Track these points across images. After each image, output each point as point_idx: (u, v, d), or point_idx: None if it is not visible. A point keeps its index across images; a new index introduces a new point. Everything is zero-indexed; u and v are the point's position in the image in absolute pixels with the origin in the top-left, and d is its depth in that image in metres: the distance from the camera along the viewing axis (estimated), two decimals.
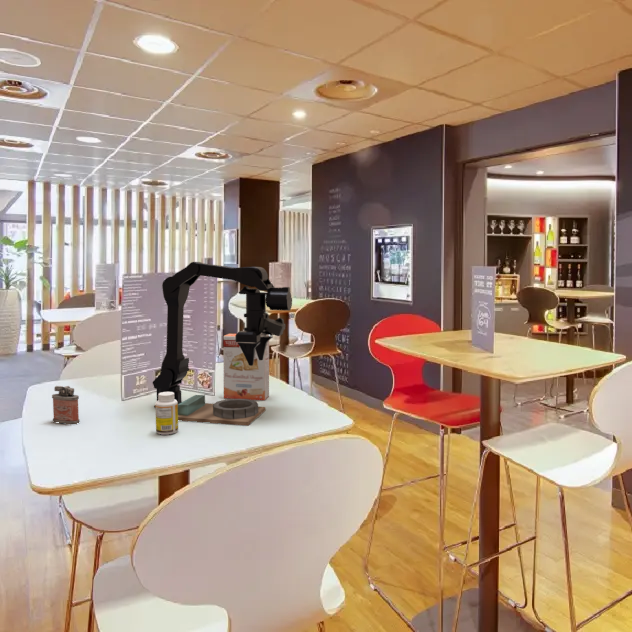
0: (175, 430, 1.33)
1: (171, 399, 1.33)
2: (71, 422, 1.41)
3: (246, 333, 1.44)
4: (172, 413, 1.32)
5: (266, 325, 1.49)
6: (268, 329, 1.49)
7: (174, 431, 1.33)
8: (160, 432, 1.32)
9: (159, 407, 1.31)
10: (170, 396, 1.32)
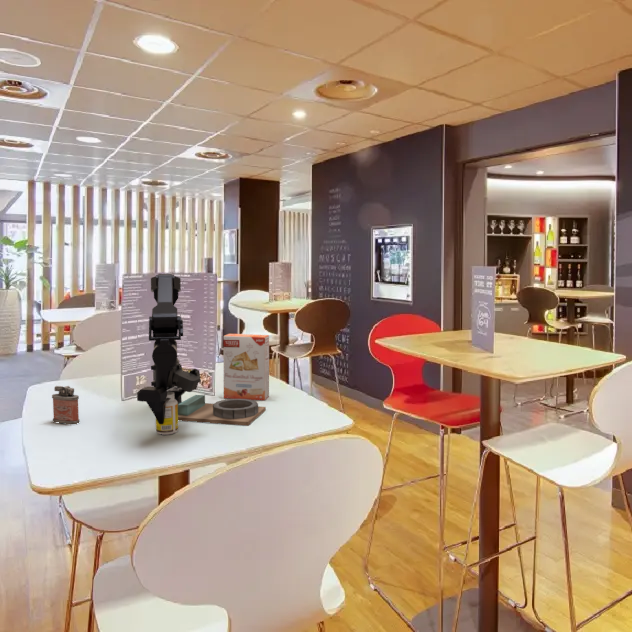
0: (175, 430, 1.33)
1: (171, 399, 1.33)
2: (71, 422, 1.41)
3: (148, 391, 1.25)
4: (172, 413, 1.32)
5: (175, 379, 1.30)
6: (178, 384, 1.30)
7: (174, 431, 1.33)
8: (160, 432, 1.32)
9: None
10: (170, 396, 1.32)
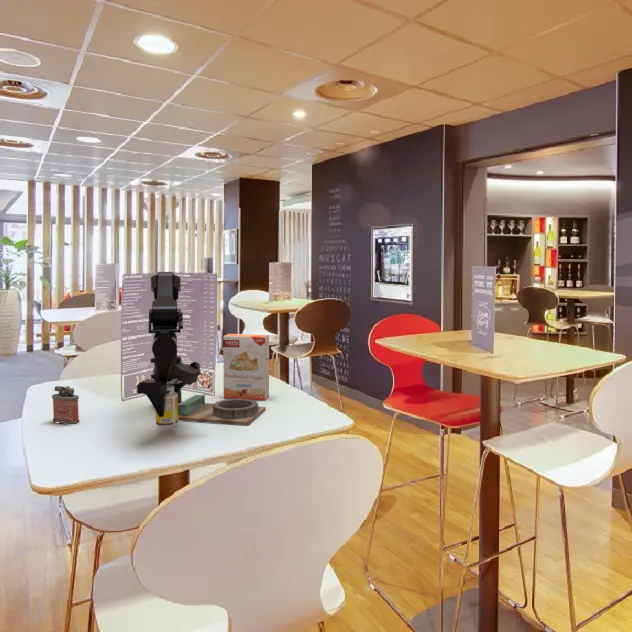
0: (175, 423, 1.33)
1: (171, 392, 1.33)
2: (71, 422, 1.41)
3: (148, 383, 1.24)
4: (172, 406, 1.32)
5: (175, 372, 1.30)
6: (178, 377, 1.30)
7: (174, 424, 1.33)
8: (160, 425, 1.32)
9: None
10: (170, 389, 1.32)
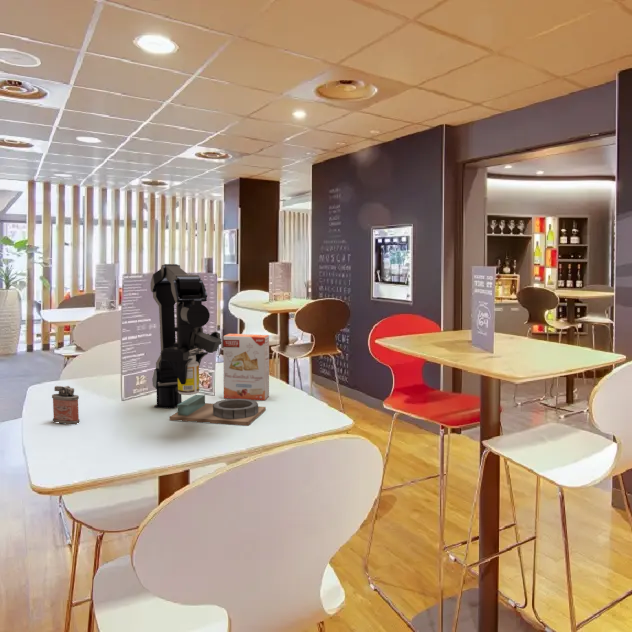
0: (196, 391, 1.37)
1: (193, 360, 1.37)
2: (71, 422, 1.41)
3: (171, 350, 1.28)
4: (194, 374, 1.36)
5: (197, 340, 1.34)
6: (199, 345, 1.34)
7: (195, 391, 1.37)
8: (182, 392, 1.36)
9: None
10: (192, 357, 1.36)
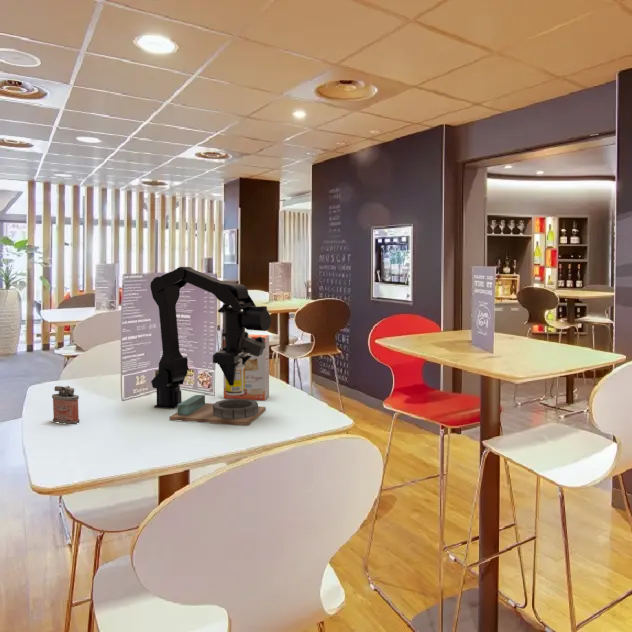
0: (243, 392, 1.48)
1: (240, 363, 1.47)
2: (71, 422, 1.41)
3: (223, 354, 1.39)
4: (241, 376, 1.47)
5: (245, 345, 1.45)
6: (247, 349, 1.45)
7: (242, 392, 1.48)
8: (230, 393, 1.47)
9: None
10: (239, 360, 1.47)
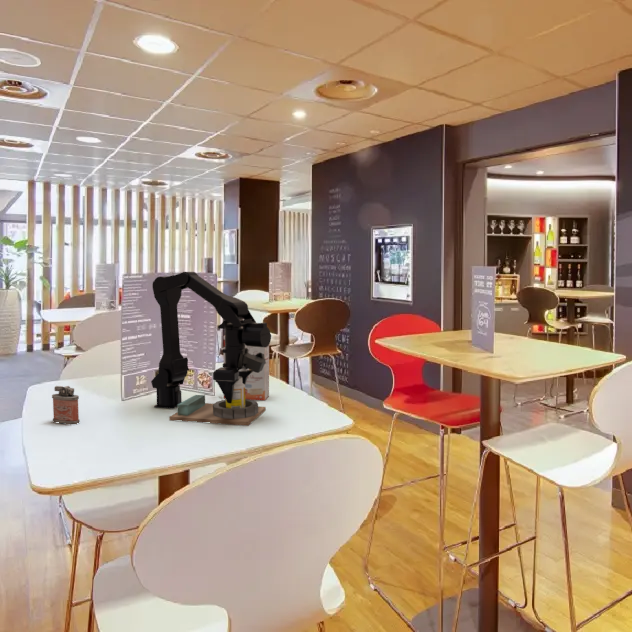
0: None
1: (240, 382, 1.48)
2: (71, 422, 1.41)
3: (224, 371, 1.40)
4: (241, 395, 1.47)
5: (245, 361, 1.45)
6: (247, 365, 1.45)
7: None
8: None
9: None
10: (239, 380, 1.48)
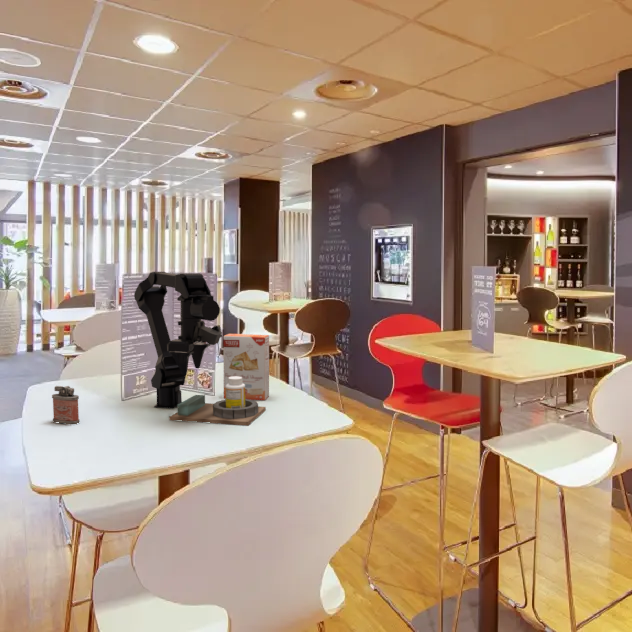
0: None
1: (240, 382, 1.48)
2: (71, 422, 1.41)
3: (178, 342, 1.40)
4: (241, 395, 1.47)
5: (200, 334, 1.45)
6: (202, 338, 1.46)
7: None
8: None
9: (230, 389, 1.47)
10: (239, 380, 1.48)
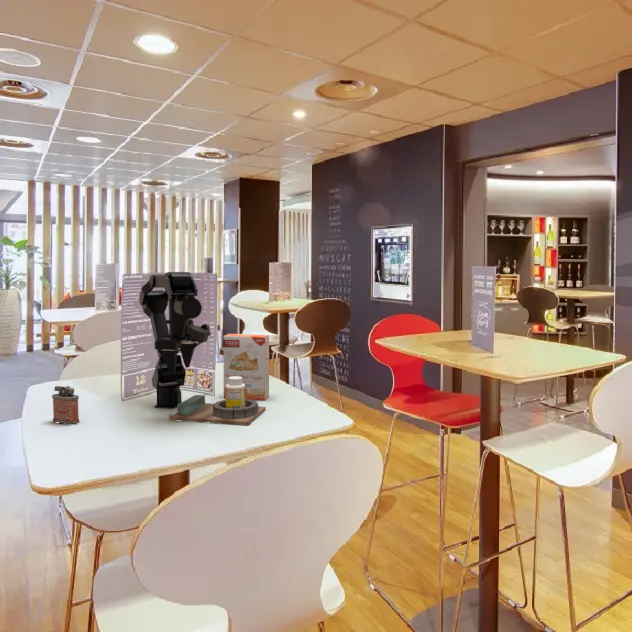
0: None
1: (240, 382, 1.48)
2: (71, 422, 1.41)
3: (165, 340, 1.40)
4: (241, 395, 1.47)
5: (188, 332, 1.45)
6: (190, 336, 1.46)
7: None
8: None
9: (230, 389, 1.47)
10: (239, 380, 1.48)
